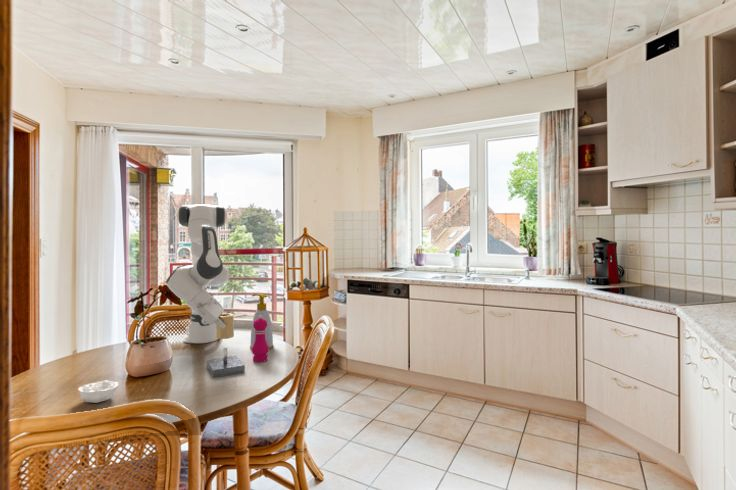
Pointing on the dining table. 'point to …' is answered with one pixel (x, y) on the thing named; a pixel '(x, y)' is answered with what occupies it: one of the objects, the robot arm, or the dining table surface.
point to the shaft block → (225, 365)
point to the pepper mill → (260, 340)
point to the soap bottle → (265, 315)
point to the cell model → (98, 391)
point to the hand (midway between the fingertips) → (226, 324)
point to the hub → (229, 329)
